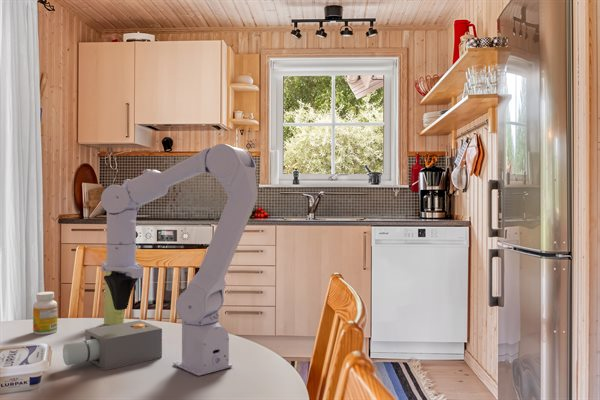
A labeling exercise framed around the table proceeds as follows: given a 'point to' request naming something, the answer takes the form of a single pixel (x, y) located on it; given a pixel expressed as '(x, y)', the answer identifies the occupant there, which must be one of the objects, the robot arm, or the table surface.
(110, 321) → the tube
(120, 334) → the housing
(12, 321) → the table surface
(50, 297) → the supplement bottle
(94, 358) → the cylinder
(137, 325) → the plunger
